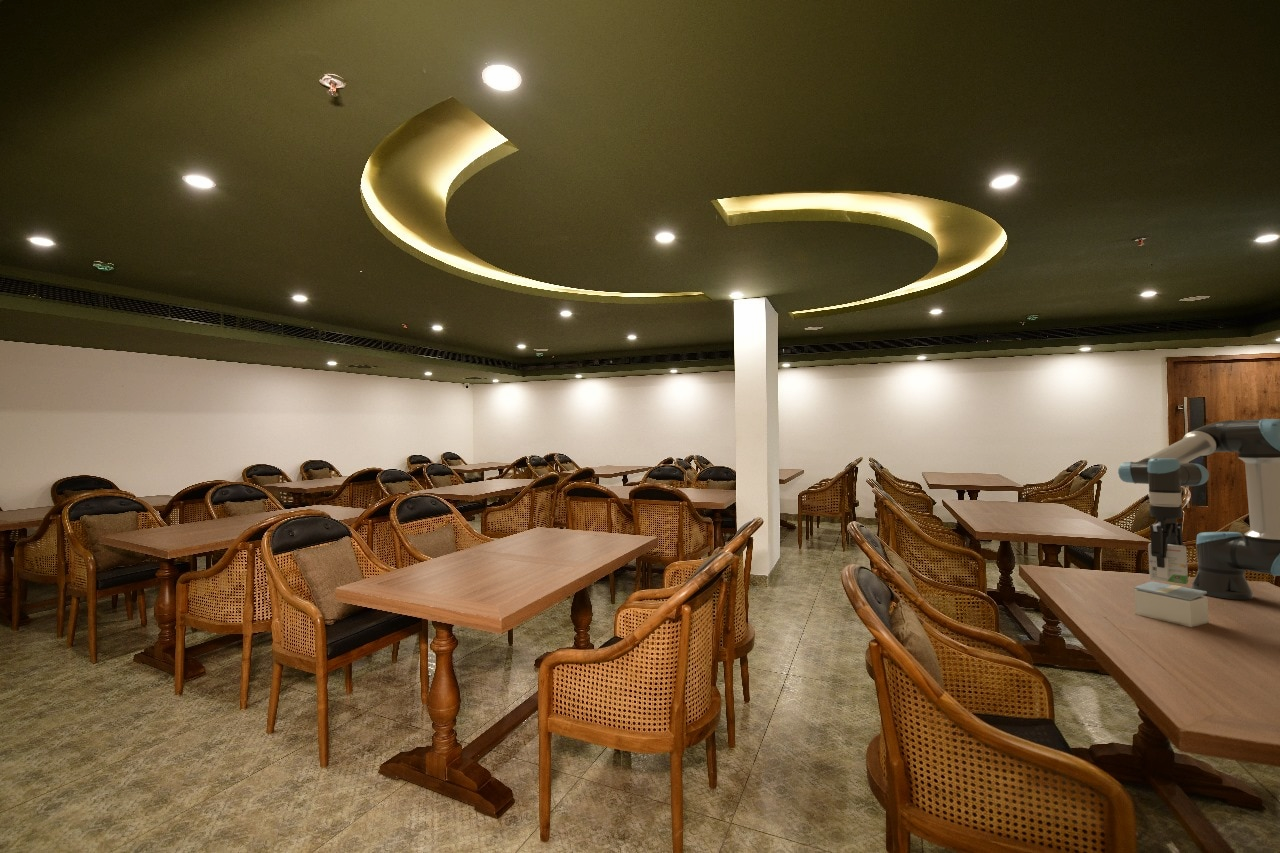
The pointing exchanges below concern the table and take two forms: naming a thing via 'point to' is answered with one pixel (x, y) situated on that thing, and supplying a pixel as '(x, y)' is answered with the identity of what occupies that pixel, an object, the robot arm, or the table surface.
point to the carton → (1172, 608)
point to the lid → (1170, 590)
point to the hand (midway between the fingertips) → (1168, 576)
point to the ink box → (1171, 564)
